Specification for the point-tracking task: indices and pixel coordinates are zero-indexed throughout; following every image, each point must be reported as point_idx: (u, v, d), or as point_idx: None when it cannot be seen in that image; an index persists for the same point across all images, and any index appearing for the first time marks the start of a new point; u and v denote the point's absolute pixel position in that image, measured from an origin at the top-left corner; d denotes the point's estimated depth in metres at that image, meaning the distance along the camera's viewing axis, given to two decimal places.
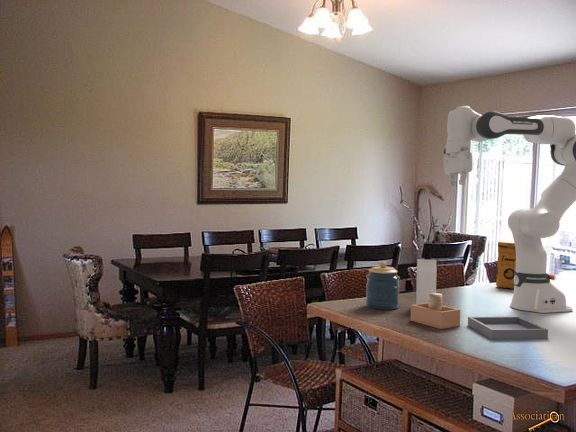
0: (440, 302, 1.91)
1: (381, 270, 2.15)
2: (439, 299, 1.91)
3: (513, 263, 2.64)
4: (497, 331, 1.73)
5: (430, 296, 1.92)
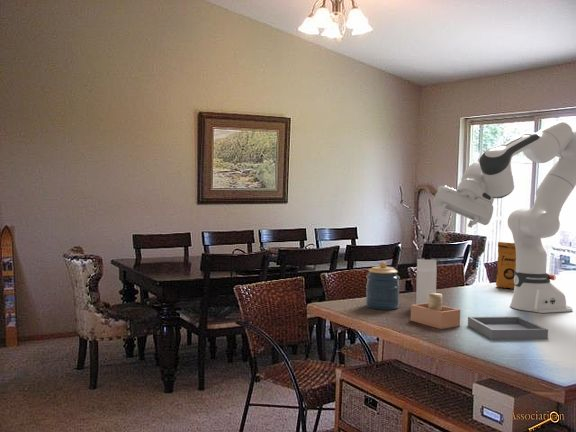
0: (440, 302, 1.91)
1: (381, 270, 2.15)
2: (439, 299, 1.91)
3: (513, 263, 2.64)
4: (497, 331, 1.73)
5: (430, 296, 1.92)
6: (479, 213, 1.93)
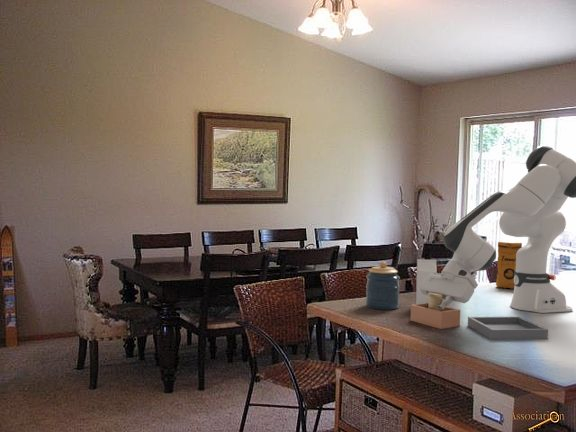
0: None
1: (381, 270, 2.15)
2: (439, 299, 1.91)
3: (513, 263, 2.64)
4: (497, 331, 1.73)
5: (430, 296, 1.92)
6: (453, 293, 1.89)
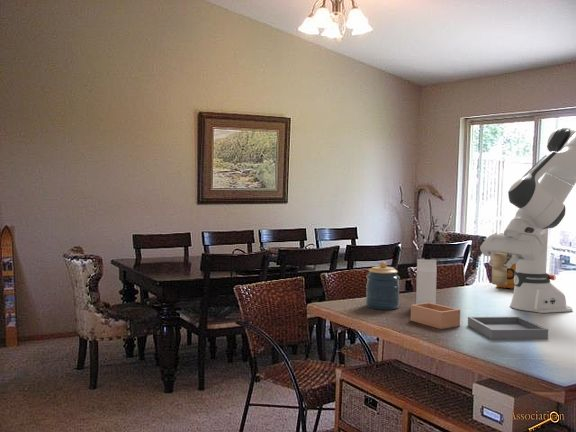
0: None
1: (381, 270, 2.15)
2: (505, 258, 1.81)
3: None
4: (497, 331, 1.73)
5: (494, 255, 1.82)
6: (520, 250, 1.78)
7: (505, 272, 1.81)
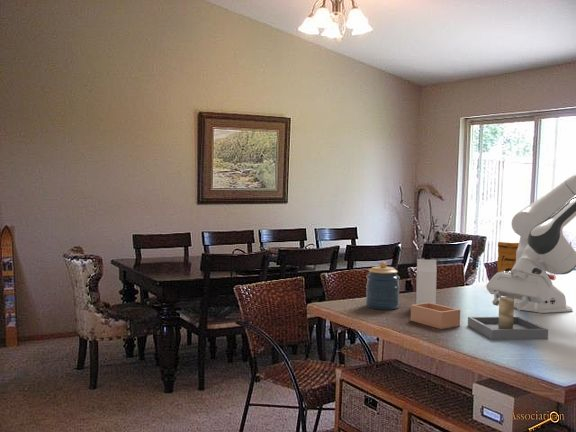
0: (512, 307, 1.80)
1: (381, 270, 2.15)
2: (512, 304, 1.80)
3: (513, 263, 2.64)
4: (497, 331, 1.73)
5: (501, 300, 1.81)
6: (527, 292, 1.78)
7: (512, 318, 1.80)
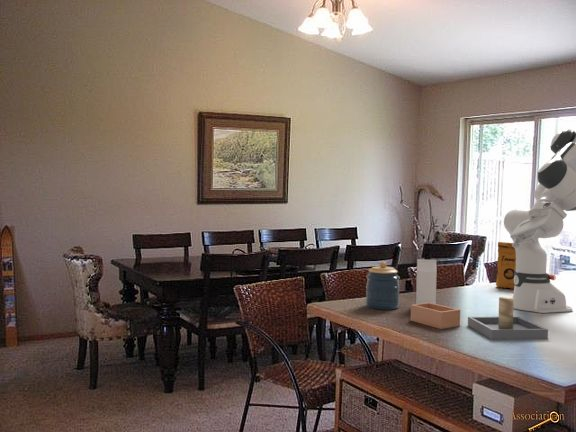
0: (512, 307, 1.80)
1: (381, 270, 2.15)
2: (512, 304, 1.80)
3: (513, 263, 2.64)
4: (497, 331, 1.73)
5: (501, 300, 1.81)
6: (539, 223, 1.84)
7: (512, 318, 1.80)
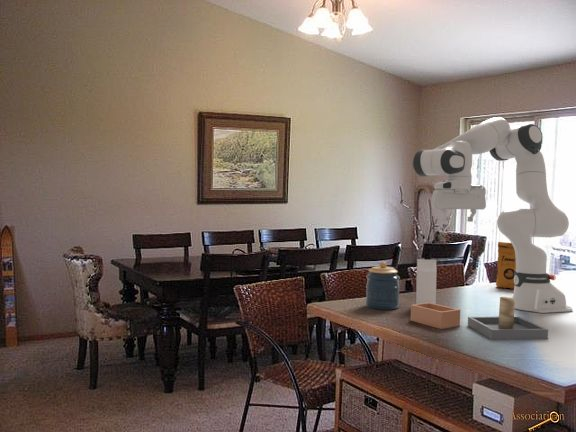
0: (513, 307, 1.80)
1: (381, 270, 2.15)
2: (512, 304, 1.80)
3: (513, 263, 2.64)
4: (497, 331, 1.73)
5: (502, 300, 1.81)
6: None
7: (512, 318, 1.80)
